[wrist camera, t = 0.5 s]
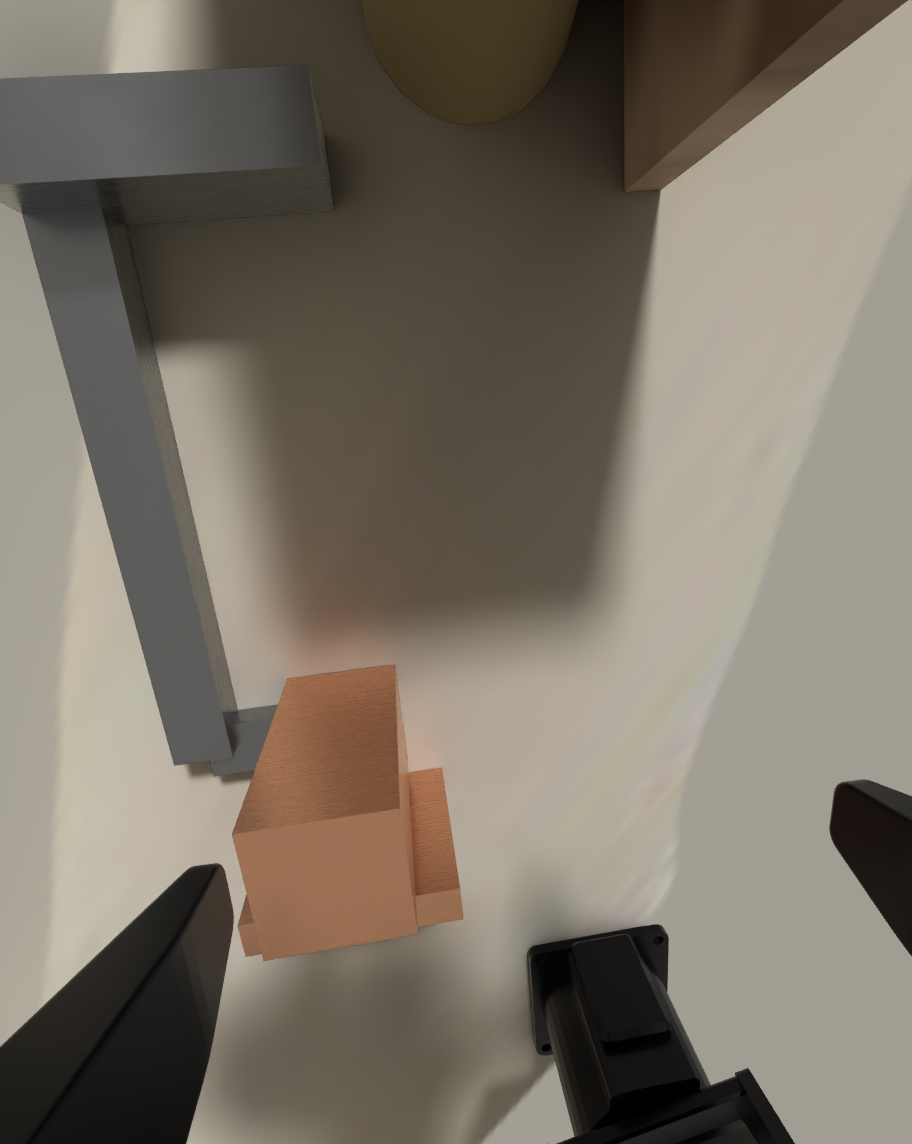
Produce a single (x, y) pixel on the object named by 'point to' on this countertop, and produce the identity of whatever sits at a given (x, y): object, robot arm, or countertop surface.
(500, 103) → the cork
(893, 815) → the robot arm
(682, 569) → the countertop surface
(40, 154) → the grey brown long block
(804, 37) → the spice cubby
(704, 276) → the countertop surface
